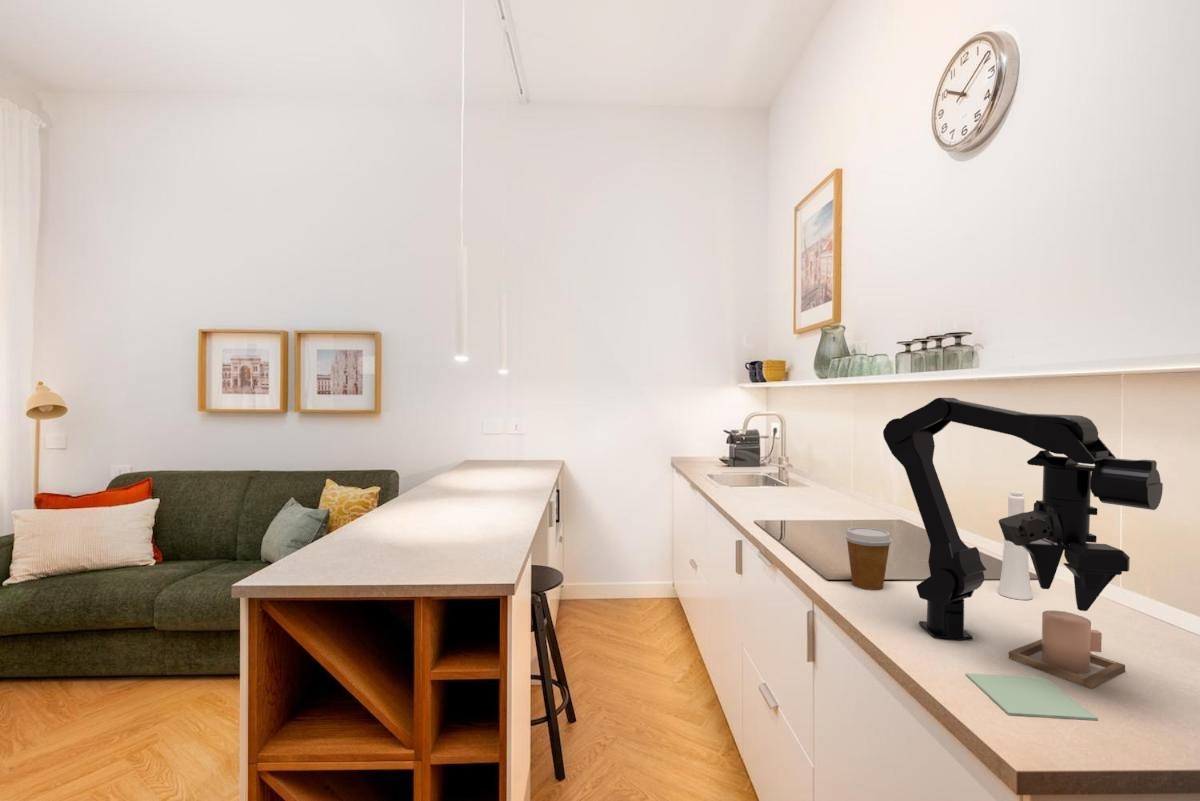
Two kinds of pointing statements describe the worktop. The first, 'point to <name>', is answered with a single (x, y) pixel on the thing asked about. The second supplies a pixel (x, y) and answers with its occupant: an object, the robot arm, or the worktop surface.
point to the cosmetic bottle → (1015, 560)
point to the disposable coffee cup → (868, 556)
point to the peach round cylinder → (1068, 641)
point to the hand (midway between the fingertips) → (1062, 599)
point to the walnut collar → (1090, 681)
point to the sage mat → (1029, 696)
